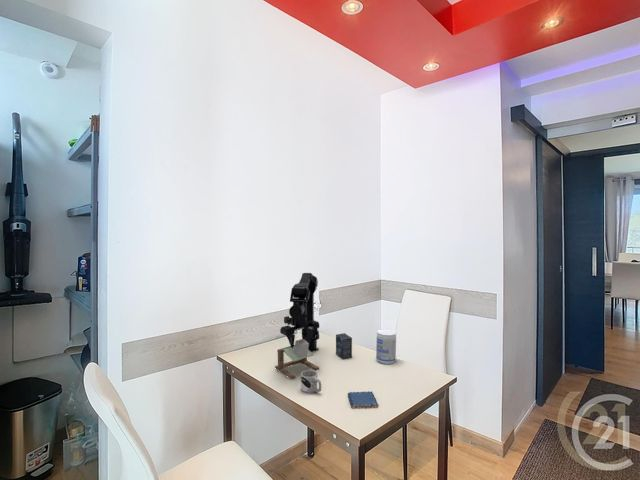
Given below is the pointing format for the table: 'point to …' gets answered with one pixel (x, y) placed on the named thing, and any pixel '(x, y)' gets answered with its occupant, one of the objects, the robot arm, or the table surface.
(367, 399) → the woven mat
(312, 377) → the mug
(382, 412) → the table surface
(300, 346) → the grey rectangular block
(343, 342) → the box
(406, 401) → the table surface
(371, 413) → the table surface
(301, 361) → the frame
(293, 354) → the trapdoor
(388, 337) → the supplement tub
